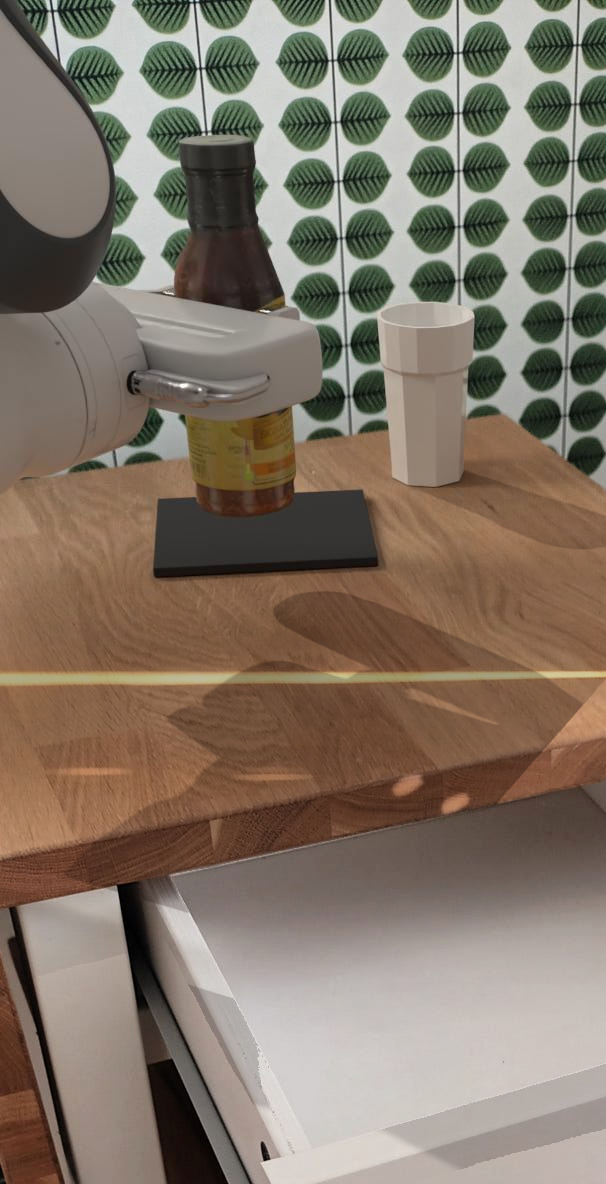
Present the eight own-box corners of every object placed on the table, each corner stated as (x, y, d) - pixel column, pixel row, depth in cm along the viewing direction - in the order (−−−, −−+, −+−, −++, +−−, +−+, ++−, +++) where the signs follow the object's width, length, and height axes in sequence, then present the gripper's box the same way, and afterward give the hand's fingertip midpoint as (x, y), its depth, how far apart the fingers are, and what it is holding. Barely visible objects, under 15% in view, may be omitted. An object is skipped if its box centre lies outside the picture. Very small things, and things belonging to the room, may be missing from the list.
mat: (154, 577, 97) (152, 568, 97) (158, 506, 106) (157, 498, 106) (378, 565, 99) (378, 556, 98) (363, 497, 108) (362, 489, 108)
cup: (374, 462, 114) (368, 304, 107) (462, 455, 115) (461, 299, 109) (391, 494, 109) (386, 330, 102) (483, 486, 110) (484, 324, 103)
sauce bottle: (277, 527, 91) (246, 151, 80) (178, 518, 92) (133, 147, 81) (314, 489, 96) (290, 131, 85) (220, 481, 98) (183, 127, 86)
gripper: (216, 337, 73) (385, 277, 82) (-88, 277, 81) (97, 229, 91) (228, 471, 76) (389, 398, 86) (-64, 399, 85) (112, 340, 95)
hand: (237, 310), depth 88 cm, fingers closed on sauce bottle, 6 cm apart
